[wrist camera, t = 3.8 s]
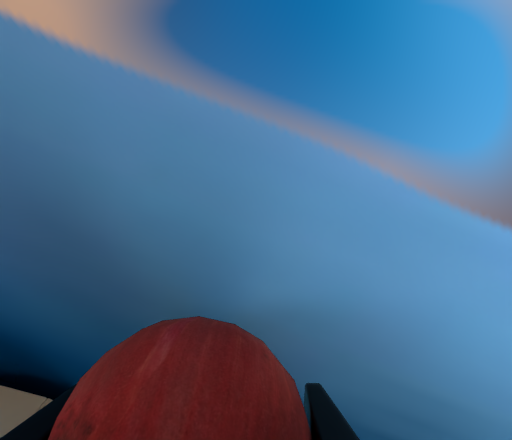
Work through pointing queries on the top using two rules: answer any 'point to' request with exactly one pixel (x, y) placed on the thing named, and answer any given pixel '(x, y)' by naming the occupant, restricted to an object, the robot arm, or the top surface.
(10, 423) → the bowl
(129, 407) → the onion
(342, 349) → the top surface
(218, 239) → the top surface
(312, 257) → the top surface
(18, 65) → the top surface
